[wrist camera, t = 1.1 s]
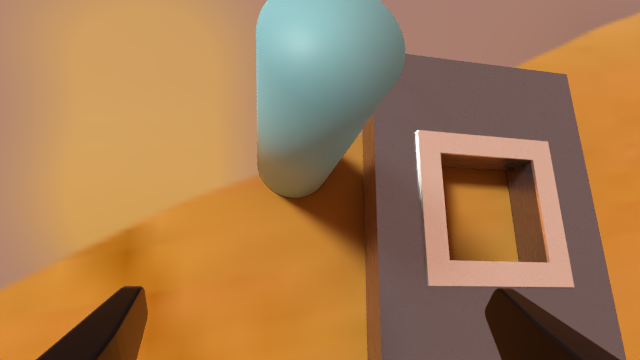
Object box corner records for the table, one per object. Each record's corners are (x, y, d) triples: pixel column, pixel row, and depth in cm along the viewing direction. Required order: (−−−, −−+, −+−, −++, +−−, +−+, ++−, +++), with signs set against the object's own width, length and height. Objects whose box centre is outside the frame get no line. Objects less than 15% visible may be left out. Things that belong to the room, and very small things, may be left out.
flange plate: (593, 378, 23) (636, 391, 20) (368, 387, 20) (384, 404, 18) (541, 90, 29) (568, 73, 26) (361, 69, 26) (372, 47, 24)
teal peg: (329, 199, 23) (409, 115, 11) (255, 196, 22) (250, 100, 10) (329, 132, 25) (401, -11, 12) (259, 126, 24) (260, -34, 11)
